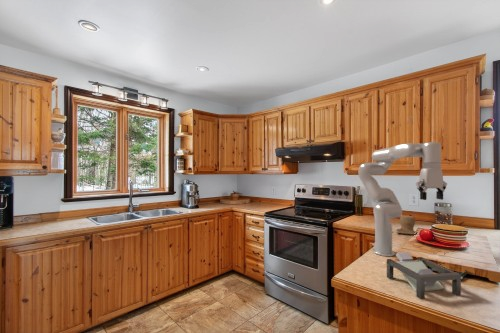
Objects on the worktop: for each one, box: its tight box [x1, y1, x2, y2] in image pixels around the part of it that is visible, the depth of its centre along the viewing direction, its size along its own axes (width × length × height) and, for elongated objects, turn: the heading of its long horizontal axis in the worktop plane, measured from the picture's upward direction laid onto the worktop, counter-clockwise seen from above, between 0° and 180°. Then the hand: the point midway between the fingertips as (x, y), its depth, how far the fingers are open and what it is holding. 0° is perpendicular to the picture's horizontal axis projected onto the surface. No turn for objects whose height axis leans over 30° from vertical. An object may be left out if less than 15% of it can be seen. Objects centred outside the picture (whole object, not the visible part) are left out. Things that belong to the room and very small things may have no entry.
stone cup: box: [396, 214, 416, 235], centre depth 194 cm, size 15×12×15 cm
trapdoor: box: [395, 251, 445, 293], centre depth 112 cm, size 19×14×2 cm
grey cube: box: [418, 268, 436, 286], centre depth 106 cm, size 5×5×5 cm
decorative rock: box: [429, 267, 467, 280], centre depth 122 cm, size 19×6×15 cm
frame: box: [386, 256, 462, 300], centre depth 109 cm, size 20×20×9 cm
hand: (431, 199), depth 121 cm, fingers open, 9 cm apart
